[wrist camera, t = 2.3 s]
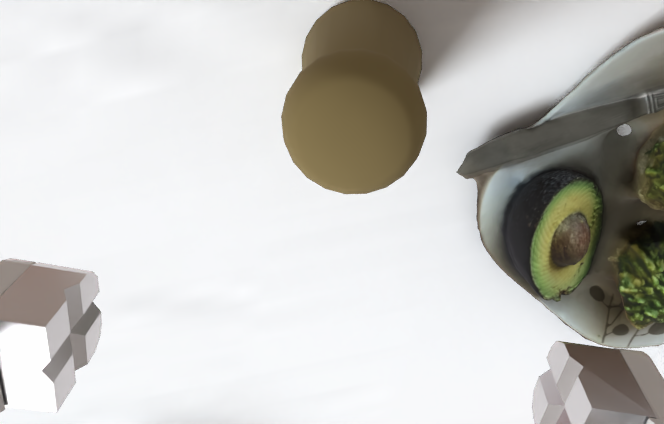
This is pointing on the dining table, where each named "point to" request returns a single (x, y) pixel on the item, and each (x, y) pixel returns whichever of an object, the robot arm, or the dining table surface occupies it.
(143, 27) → the dining table surface
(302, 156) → the cork
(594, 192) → the salad plate
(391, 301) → the dining table surface
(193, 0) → the dining table surface
